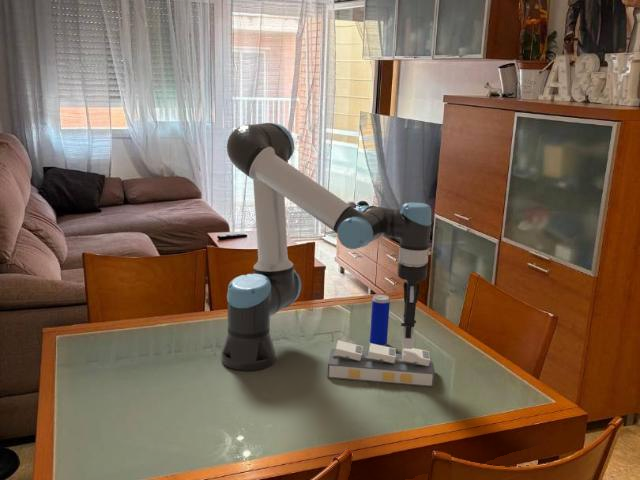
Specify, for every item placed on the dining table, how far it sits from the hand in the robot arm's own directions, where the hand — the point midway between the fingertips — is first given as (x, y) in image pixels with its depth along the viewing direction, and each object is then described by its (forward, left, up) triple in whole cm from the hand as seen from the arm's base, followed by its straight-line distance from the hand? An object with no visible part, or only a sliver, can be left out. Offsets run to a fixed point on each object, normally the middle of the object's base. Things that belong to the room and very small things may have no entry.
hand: (406, 347), depth 165 cm
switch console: (-7, 0, -8) cm, 11 cm away
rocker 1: (-16, 0, -3) cm, 16 cm away
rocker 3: (+2, 0, -3) cm, 4 cm away
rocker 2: (-7, 0, -3) cm, 7 cm away
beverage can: (-8, +20, -9) cm, 23 cm away
